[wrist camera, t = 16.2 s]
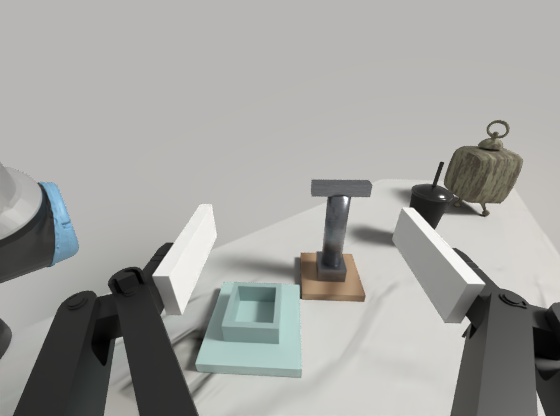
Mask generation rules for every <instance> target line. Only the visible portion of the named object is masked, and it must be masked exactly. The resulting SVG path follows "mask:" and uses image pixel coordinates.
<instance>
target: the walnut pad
mask: <svg viewBox="0 0 560 416" xmlns="http://www.w3.org/2000/svg"><path fill="white" fill-rule="evenodd" d="M343 258H344V261H345V265H346V269H347V273H346V279H345V282H321V281H318V278H317V270H316V253H301V284H302V299H309V300H336V301H363V302H364V300H365V293H364V290H363V287H362V284H361V281H360V277H359V274H358V271H357V268H356V265H355V262H354V259H353V256H352V254H343Z"/></svg>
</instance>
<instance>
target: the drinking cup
mask: <svg viewBox="0 0 560 416" xmlns="http://www.w3.org/2000/svg"><path fill="white" fill-rule="evenodd" d="M443 165H444V162H440V164H439V167H438V170H437V173H436V176H435V179H434V182H433V184H421V185H415V186H413V187H412V189H411V191H412V197H411V202H410V208H414V209H415V210H416V211H417V212H418V213H419V214H420V215H421V216H422V218H423V219H424V220H425V221H426V222H427V223H428V224H429V225H430V226H431V227H432V228H433V229H434V230H435V228H436V227H437V225H438V223H439V221H440V219H441V217H442V215H443V213H444V211H445V209H446V207H447V206H448V204H449V202H450V200H452V199H453V197H454V195H453V193H452V192H450V191H449V190H447V189H445V188H443V187H441V186H438V185H437V182H438V179H439V176H440V173H441V170H442V167H443Z"/></svg>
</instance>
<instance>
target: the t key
mask: <svg viewBox="0 0 560 416" xmlns="http://www.w3.org/2000/svg"><path fill="white" fill-rule="evenodd" d="M311 183H312V184H311V194H312V196H327V197H328V200H327V209H326V219H325V229H324V239H323V249H322V252H317V253H316V270H317V278H318V281H321V282H345V279H346V273H347V269H346V265H345V261H344V258H343V254H342V251H343V244H344V238H345V232H346V225H347V219H348V213H349V206H350V200H351V197H370V194H371V189H372V184H371V183H370V181H368V180H312V182H311Z"/></svg>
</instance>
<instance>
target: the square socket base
mask: <svg viewBox="0 0 560 416" xmlns="http://www.w3.org/2000/svg"><path fill="white" fill-rule="evenodd" d="M195 365H196V368H197V371H198V372H210V373H228V374H247V375H265V376H284V377H301V374H302V359H301V323H300V287H299V285H290V284H276V283H246V282H234V283H231V282H223V285H222V288H221V291H220V294H219V297H218V300H217V302H216V305H215V308H214V311H213V314H212V317H211V320H210V323H209V325H208V328H207V331H206V334H205V337H204V340H203V343H202V346H201V349H200V351H199V354H198V357H197V360H196V363H195Z"/></svg>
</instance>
